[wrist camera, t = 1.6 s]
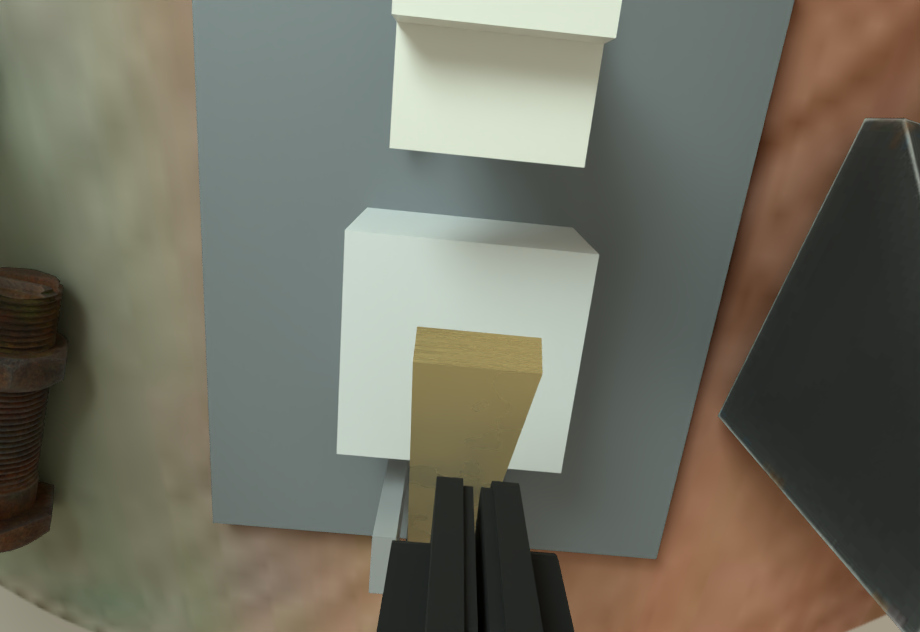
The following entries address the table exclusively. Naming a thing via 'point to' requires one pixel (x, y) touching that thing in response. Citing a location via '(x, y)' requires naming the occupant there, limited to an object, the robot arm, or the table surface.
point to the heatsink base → (341, 161)
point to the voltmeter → (849, 371)
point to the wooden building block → (466, 412)
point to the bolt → (26, 398)
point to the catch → (499, 76)
